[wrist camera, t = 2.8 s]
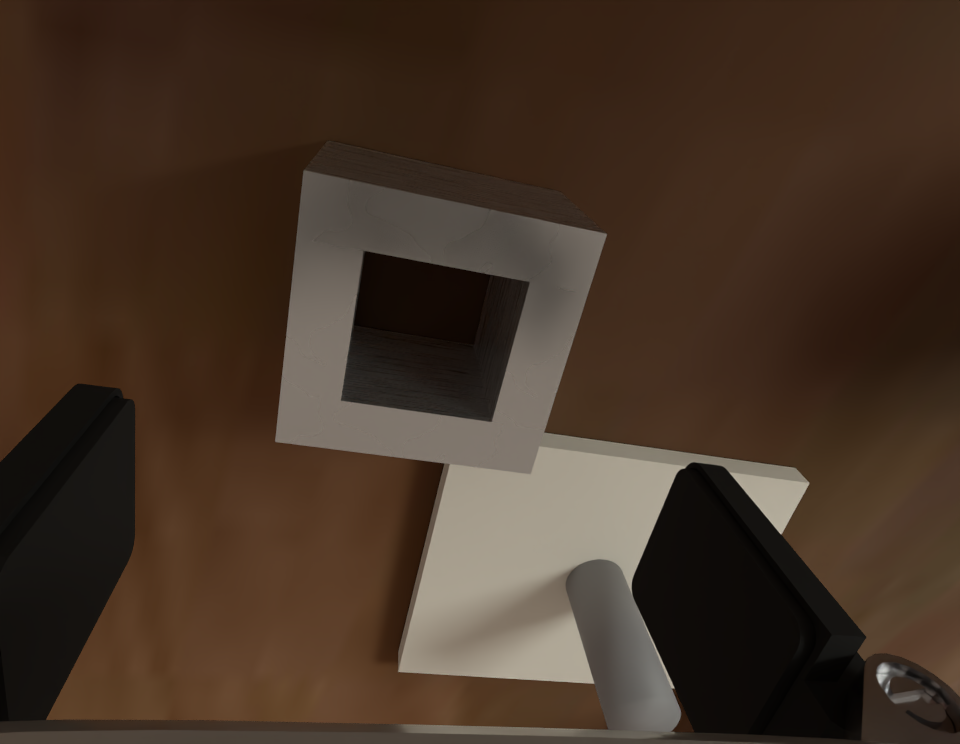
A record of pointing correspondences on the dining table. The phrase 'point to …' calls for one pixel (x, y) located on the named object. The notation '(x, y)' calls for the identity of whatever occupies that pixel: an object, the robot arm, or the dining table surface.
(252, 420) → the dining table surface
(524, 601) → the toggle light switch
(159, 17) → the dining table surface
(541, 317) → the grey hollow square block
